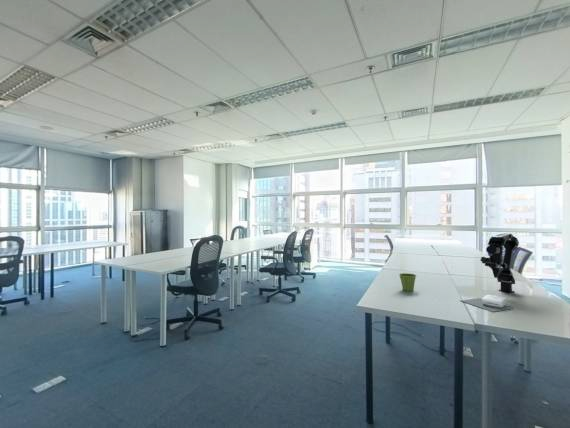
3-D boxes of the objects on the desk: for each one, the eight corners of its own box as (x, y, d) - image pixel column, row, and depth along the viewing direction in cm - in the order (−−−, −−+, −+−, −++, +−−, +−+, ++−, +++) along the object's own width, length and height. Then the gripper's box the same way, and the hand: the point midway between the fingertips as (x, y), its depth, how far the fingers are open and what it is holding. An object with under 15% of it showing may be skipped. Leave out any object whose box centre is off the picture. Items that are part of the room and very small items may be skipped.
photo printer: (486, 300, 164) (480, 305, 156) (486, 293, 164) (480, 297, 156) (507, 304, 156) (502, 309, 148) (507, 297, 156) (502, 302, 148)
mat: (479, 298, 169) (479, 298, 169) (513, 308, 150) (513, 308, 150) (460, 301, 165) (460, 300, 165) (493, 312, 146) (493, 311, 146)
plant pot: (414, 288, 196) (414, 273, 196) (418, 292, 184) (418, 276, 184) (397, 287, 199) (397, 272, 199) (400, 292, 187) (400, 276, 187)
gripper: (489, 253, 188) (487, 275, 187) (476, 252, 178) (475, 275, 177) (508, 255, 178) (506, 278, 177) (496, 254, 169) (494, 278, 168)
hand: (495, 277), depth 175 cm, fingers closed
